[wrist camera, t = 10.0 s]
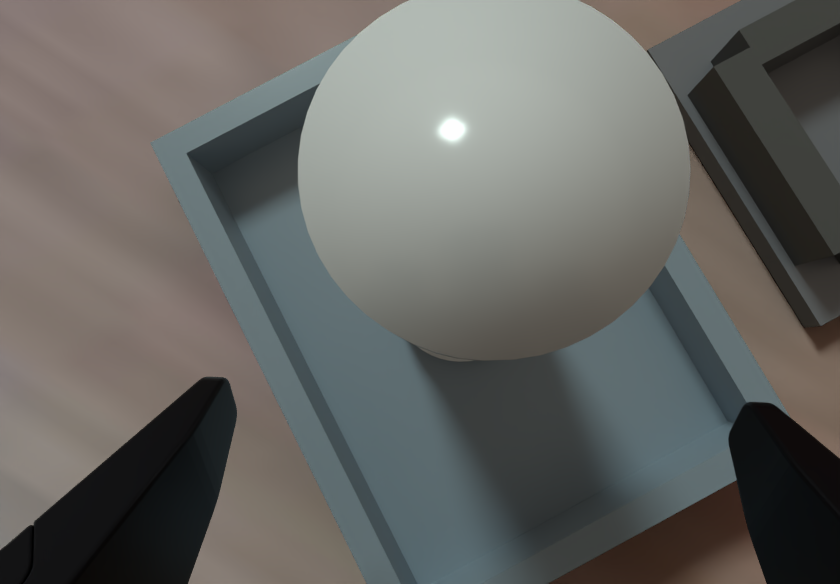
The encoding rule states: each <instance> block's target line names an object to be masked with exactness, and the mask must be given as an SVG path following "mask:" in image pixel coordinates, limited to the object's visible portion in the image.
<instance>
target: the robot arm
mask: <svg viewBox="0 0 840 584" xmlns="http://www.w3.org/2000/svg"><path fill="white" fill-rule="evenodd" d="M236 418H237V408H236V404H235V401H234V397H233V394H232V390H231V387H230V384H229V381H228V380H227V379H226V378H223V377H204V378H202V379H200V380H199V381H198V382H196V383H195V384H194V385H193V386H192V387H191V388H189V389H188V390H187V391H186V392H185V393H184V394H182V395H181V396H180V397H179V398H178V399H177V400H175V401H174V402H173V403H172V404H171V405H170V406H168V407H167V408H166V409H165V410H164V411H163V412H161V413H160V414H159V415H158V416H157V417H156V418H154V419H153V420H152V421H151V422H150V423H149V424H147V425H146V426H145V427H144V428H143V429H142V430H140V431H139V432H138V433H137V434H136V435H135V436H133V437H132V438H131V439H130V440H129V441H128V442H126V443H125V444H124V445H123V446H122V447H121V448H119V449H118V450H117V451H116V452H115V453H114V454H112V455H111V456H110V457H109V458H108V459H107V460H105V461H104V462H103V463H102V464H101V465H100V466H98V467H97V468H96V469H95V470H94V471H93V472H91V473H90V474H89V475H88V476H87V477H86V478H84V479H83V480H82V481H81V482H80V483H79V484H77V485H76V486H75V487H74V488H73V489H72V490H70V491H69V492H68V493H67V494H66V495H65V496H63V497H62V498H61V499H60V500H59V501H58V502H56V503H55V504H54V505H53V506H52V507H51V508H49V509H48V510H47V511H46V512H45V513H44V514H42V515H41V516H40V517H39V518H38V519H37V520H35V522H34V526H33V525H30V526H28V527H27V528H26V529H25V530H23V531H22V532H21V533H20V534H19V535H18V536H16V537H15V538H14V539H13V540H12V541H11V542H9V543H8V544H7V545H6V546H5V547H3V548H2V549H1V550H0V584H188V582H189V579H190V576H191V573H192V571H193V568H194V565H195V562H196V559H197V556H198V554H199V551H200V548H201V545H202V542H203V540H204V537H205V534H206V531H207V528H208V526H209V523H210V520H211V517H212V514H213V512H214V509H215V505H216V502H217V499H218V496H219V492H220V488H221V484H222V479H223V475H224V471H225V467H226V462H227V458H228V454H229V449H230V445H231V441H232V436H233V432H234V428H235V424H236ZM728 442H729V448H730V453H731V457H732V462H733V466H734V471H735V475H736V480H737V484H738V488H739V493H740V497H741V502H742V506H743V511H744V515H745V519H746V523H747V527H748V530H749V533H750V536H751V540H752V543H753V546H754V548H755V551H756V554H757V557H758V560H759V563H760V566H761V569H762V571H763V574H764V577H765V580H766V583H767V584H840V458H838V457H837V456H836V455H835V454H834V453H832V452H831V451H830V450H829V449H828V448H826V447H825V446H824V445H823V444H821V443H820V442H819V441H818V440H817V439H815V438H814V437H813V436H812V435H811V434H809V433H808V432H807V431H806V430H805V429H803V428H802V427H801V426H800V425H799V424H797V423H796V422H795V421H794V420H793V419H791V418H790V417H789V416H788V415H787V414H785V413H784V412H783V411H782V410H781V409H779V408H778V407H777V406H775V405H774V404H772V403H767V402H747V403H745V404H744V405H743V406H742V408H741V410H740V412H739V414H738V416H737V418H736V420H735V422H734V424H733V426H732V428H731V430H730V432H729V438H728Z"/></svg>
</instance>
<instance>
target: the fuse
mask: <svg viewBox="0 0 840 584" xmlns="http://www.w3.org/2000/svg"><path fill="white" fill-rule="evenodd" d="M690 169H691V168H690V156H689V145H688V139H687V135H686V131H685V126H684V122H683V118H682V115H681V113H680V110H679V107H678V105H677V102H676V99H675V97H674V94H673V93H672V91H671V89H670V87H669V85H668V83H667V81H666V79H665V78H664V76H663V74H662V72H661V71H660V70H659V68H658V67H657V65H656V64H655V63H654V61H653V60H652V59H651V57H650V56H649V54H648V53H647V52H646V51H645V50H644V49H643V48H642V47H641V46H640V45H639V44H638V42H637V41H636V40H635V39H634V38H633V37H632V36H631V35H630V34H629V33H627V32H626V31H625V30H624V29H622V28H621V27H620V26H619V25H618V24H616V23H615V22H614V21H613V20H611V19H610V18H608V17H607V16H605V15H604V14H602V13H600V12H599V11H597V10H596V9H594V8H592V7H591V6H589V5H587V4H584V3H582V2H580V1H578V0H409V1H407V2H405V3H403V4H401V5H399V6H397V7H396V8H394V9H392V10H391V11H389V12H387V13H386V14H384V15H382V16H381V17H379V18H378V19H377V20H375V21H374V22H373V23H371V24H370V25H369V26H368V27H366V28H365V29H364V30H362V31H361V32H360V33H359V34H358V35H357V36H356V37H355V38H354V39H353V40H352V41H351V42H350V43H349V44H348V45H347V46H346V47H345V48H344V49H343V51H342V52H341V53H340V54H339V56H338V57H337V58H336V60H335V61H334V62H333V64H332V65H331V66H330V68H329V69H328V71H327V72H326V74H325V76H324V78H323V79H322V81H321V83H320V85H319V86H318V88H317V90H316V92H315V95H314V97H313V99H312V102H311V104H310V107H309V109H308V111H307V115H306V119H305V122H304V126H303V130H302V134H301V139H300V147H299V155H298V187H299V195H300V202H301V209H302V212H303V216H304V219H305V223H306V226H307V230H308V233H309V235H310V238H311V240H312V242H313V245H314V247H315V249H316V252H317V254H318V256H319V258H320V259H321V261H322V263H323V264H324V266H325V267H326V269H327V271H328V272H329V274H330V276H331V277H332V279H333V280H334V281H335V282H336V283H337V285H338V286H339V287H340V288H341V290H342V291H343V292H344V293H345V295H346V296H347V297H348V298H349V299H350V300H351V301H352V302H353V303H354V304H355V305H356V306H357V307H358V308H360V309H361V310H362V311H363V312H364V313H365V314H366V315H367V316H369V317H370V318H371V319H373V320H374V321H376V322H377V323H378V324H380V325H381V326H382V327H384V328H385V329H387V330H388V331H390V332H392V333H393V334H395V335H397V336H399V337H401V338H402V339H404V340H406V341H408V342H410V343H412V344H413V345H415V346H417V347H418V348H420V349H421V350H423V351H424V352H426V353H428V354H430V355H432V356H435V357H437V358H440V359H444V360H448V361H457V362H462V361H473V360H476V361H487V360H514V359H520V358H527V357H533V356H539V355H543V354H546V353H549V352H553V351H556V350H559V349H563V348H566V347H568V346H570V345H573V344H575V343H577V342H579V341H581V340H584V339H586V338H588V337H590V336H592V335H593V334H595V333H596V332H598V331H600V330H601V329H603V328H604V327H606V326H608V325H609V324H611V323H612V322H614V321H615V320H616V319H617V318H618V317H620V316H621V315H622V314H623V313H624V312H626V311H627V310H628V309H629V308H630V307H632V306H633V305H634V304H635V302H636V301H637V300H638V299H639V298H640V297H641V296H642V295H643V294H644V293H645V292H646V290H647V289H648V288H649V287H650V286H651V284H652V283H653V282H654V280H655V279H656V277H657V276H658V274H659V273H660V271H661V270H662V268H663V267H664V266H665V264H666V262H667V260H668V258H669V256H670V254H671V252H672V250H673V248H674V246H675V244H676V242H677V239H678V236H679V233H680V230H681V227H682V224H683V221H684V218H685V213H686V208H687V202H688V197H689V189H690Z"/></svg>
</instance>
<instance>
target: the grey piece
mask: <svg viewBox="0 0 840 584" xmlns="http://www.w3.org/2000/svg"><path fill="white" fill-rule="evenodd" d="M647 53H648V54H649V56H650V57H651V59H652V60H653V61H654V63H655V64H656V65H657V67H658V68H659V70H660V71H661V72H662V74H663V76H664V78H665V79H666V81H667V83H668V85H669V87H670V89H671V91H672V93H673V94H674V97H675V99H676V102H677V105H678V107H679V110H680V113H681V115H682V118H683V122H684V126H685V131H686V135H687V139H688V141H689V143H690V144H691V146H692V148H693V149H694V151H695V152H696V154H697V156H698V157H699V159H700V160H701V162H702V164H703V165H704V167H705V168H706V170H707V172H708V173H709V175H710V177H711V178H712V180H713V181H714V183H715V185H716V186H717V188H718V189H719V191H720V193H721V194H722V196H723V197H724V199H725V201H726V202H727V204H728V205H729V207H730V209H731V210H732V212H733V214H734V215H735V217H736V218H737V220H738V222H739V223H740V225H741V226H742V228H743V230H744V231H745V233H746V234H747V236H748V238H749V239H750V241H751V243H752V244H753V246H754V247H755V249H756V251H757V252H758V254H759V255H760V257H761V259H762V260H763V262H764V263H765V265H766V267H767V268H768V270H769V271H770V273H771V275H772V276H773V278H774V280H775V281H776V283H777V284H778V286H779V288H780V289H781V291H782V292H783V294H784V296H785V297H786V299H787V300H788V302H789V304H790V305H791V307H792V308H793V310H794V312H795V313H796V315H797V317H798V318H799V320H800V321H801V323H802V325H803V326H804V327H815V326H822V325H823V324H825V323H827V322H829V321H831V320H833V319H834V318H836V317H838V316H840V0H741V1H739V2H737V3H735V4H733V5H732V6H730V7H728V8H726V9H724V10H722V11H720V12H718V13H716V14H715V15H713V16H711V17H709V18H707V19H705V20H703V21H701V22H699V23H698V24H696V25H694V26H692V27H690V28H688V29H686V30H684V31H682V32H680V33H679V34H677V35H675V36H673V37H671V38H669V39H667V40H665V41H663V42H662V43H660V44H658V45H656V46H654V47H652V48H650V49H648V50H647Z"/></svg>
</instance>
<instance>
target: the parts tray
mask: <svg viewBox="0 0 840 584" xmlns="http://www.w3.org/2000/svg"><path fill="white" fill-rule="evenodd" d="M356 36H357V35H356ZM356 36H354V37H352V38H350V39H349V40H347V41H345V42H343V43H341V44H339V45H337V46H335V47H333V48H331V49H329V50H327V51H326V52H324V53H322V54H320V55H318V56H316V57H314V58H312V59H310V60H308V61H306V62H304V63H303V64H301V65H299V66H297V67H295V68H293V69H291V70H289V71H287V72H285V73H283V74H281V75H279V76H278V77H276V78H274V79H272V80H270V81H268V82H266V83H264V84H262V85H260V86H258V87H256V88H255V89H253V90H251V91H249V92H247V93H245V94H243V95H241V96H239V97H237V98H235V99H233V100H232V101H230V102H228V103H226V104H224V105H222V106H220V107H218V108H216V109H214V110H212V111H210V112H209V113H207V114H205V115H203V116H201V117H199V118H197V119H195V120H193V121H191V122H189V123H187V124H186V125H184V126H182V127H180V128H178V129H176V130H174V131H172V132H170V133H168V134H166V135H164V136H162V137H161V138H159V139H157V140H155V141H153V142H151V145H152V147H153V149H154V151H155V153H156V155H157V157H158V159H159V161H160V163H161V165H162V168H163V170H164V172H165V174H166V176H167V178H168V180H169V182H170V184H171V186H172V188H173V190H174V192H175V194H176V196H177V198H178V200H179V202H180V204H181V206H182V208H183V210H184V212H185V214H186V216H187V218H188V220H189V223H190V225H191V227H192V229H193V231H194V233H195V235H196V237H197V239H198V241H199V243H200V245H201V247H202V249H203V251H204V253H205V255H206V257H207V259H208V261H209V263H210V265H211V267H212V269H213V271H214V273H215V275H216V278H217V280H218V282H219V284H220V286H221V288H222V290H223V292H224V294H225V296H226V298H227V300H228V302H229V304H230V306H231V308H232V310H233V312H234V314H235V316H236V318H237V320H238V322H239V324H240V326H241V328H242V330H243V333H244V335H245V337H246V339H247V341H248V343H249V345H250V347H251V349H252V351H253V353H254V355H255V357H256V359H257V361H258V363H259V365H260V367H261V369H262V371H263V373H264V375H265V377H266V379H267V381H268V383H269V385H270V387H271V390H272V392H273V394H274V396H275V398H276V400H277V402H278V404H279V406H280V408H281V410H282V412H283V414H284V416H285V418H286V420H287V422H288V424H289V426H290V428H291V430H292V432H293V434H294V436H295V438H296V440H297V442H298V445H299V447H300V449H301V451H302V453H303V455H304V457H305V459H306V461H307V463H308V465H309V467H310V469H311V471H312V473H313V475H314V477H315V479H316V481H317V483H318V485H319V487H320V489H321V491H322V493H323V495H324V497H325V500H326V502H327V504H328V506H329V508H330V510H331V512H332V514H333V516H334V518H335V520H336V522H337V524H338V526H339V528H340V530H341V532H342V534H343V536H344V538H345V540H346V542H347V544H348V546H349V548H350V550H351V552H352V555H353V557H354V559H355V561H356V563H357V565H358V567H359V569H360V571H361V573H362V575H363V577H364V579H365V581H366V583H367V584H548V583H550V582H552V581H554V580H555V579H557V578H559V577H561V576H563V575H564V574H566V573H568V572H570V571H572V570H574V569H575V568H577V567H579V566H581V565H583V564H585V563H586V562H588V561H590V560H592V559H594V558H595V557H597V556H599V555H601V554H603V553H605V552H606V551H608V550H610V549H612V548H614V547H616V546H617V545H619V544H621V543H623V542H625V541H626V540H628V539H630V538H632V537H634V536H636V535H637V534H639V533H641V532H643V531H645V530H646V529H648V528H650V527H652V526H654V525H656V524H657V523H659V522H661V521H663V520H665V519H667V518H668V517H670V516H672V515H674V514H676V513H677V512H679V511H681V510H683V509H685V508H687V507H688V506H690V505H692V504H694V503H696V502H698V501H699V500H701V499H703V498H705V497H707V496H708V495H710V494H712V493H714V492H716V491H718V490H719V489H721V488H723V487H725V486H727V485H729V484H730V483H732V482H734V481H736V475H735V471H734V466H733V462H732V457H731V453H730V448H729V442H728V438H729V432H730V430H731V428H732V426H733V424H734V422H735V420H736V418H737V416H738V414H739V412H740V410H741V408H742V406H743V405H744V404H745V403H747V402H767V403H772V404H774V405H775V406H777V407H778V408H779V409H781V410H782V411H783V412H784V413H785V414H787V415H788V413H787V411H786V410H785V408H784V406H783V405H782V403H781V401H780V400H779V398H778V396H777V395H776V393H775V391H774V390H773V388H772V386H771V385H770V383H769V381H768V380H767V378H766V377H765V375H764V373H763V372H762V370H761V368H760V367H759V365H758V363H757V362H756V360H755V358H754V357H753V355H752V353H751V352H750V350H749V348H748V347H747V345H746V343H745V342H744V340H743V339H742V337H741V335H740V334H739V332H738V330H737V329H736V327H735V325H734V324H733V322H732V320H731V319H730V317H729V315H728V314H727V312H726V310H725V309H724V307H723V305H722V304H721V302H720V301H719V299H718V297H717V296H716V294H715V292H714V291H713V289H712V287H711V286H710V284H709V282H708V281H707V279H706V277H705V276H704V274H703V272H702V271H701V269H700V268H699V266H698V264H697V263H696V261H695V259H694V258H693V256H692V254H691V253H690V251H689V249H688V248H687V246H686V244H685V243H684V241H683V239H682V238H681V236H680V234H679V236H678V239H677V242H676V244H675V246H674V248H673V250H672V252H671V254H670V256H669V258H668V260H667V262H666V264H665V266H664V267H663V268H662V270H661V271H660V273H659V274H658V276H657V277H656V279H655V280H654V282H653V283H652V284H651V286H650V287H649V288H648V289H647V290H646V292H645V293H644V294H643V295H642V296H641V297H640V298H639V299H638V300H637V301H636V302H635V304H634V305H633V306H632V307H630V308H629V309H628V310H627V311H626V312H624V313H623V314H622V315H621V316H620V317H618V318H617V319H616V320H615V321H614V322H612V323H611V324H609V325H608V326H606V327H604V328H603V329H601V330H600V331H598V332H596V333H595V334H593V335H592V336H590V337H588V338H586V339H584V340H581V341H579V342H577V343H575V344H573V345H570V346H568V347H566V348H563V349H559V350H556V351H553V352H549V353H546V354H543V355H539V356H533V357H527V358H520V359H514V360H487V361H476V360H473V361H462V362H457V361H448V360H444V359H440V358H437V357H435V356H432V355H430V354H428V353H426V352H424V351H423V350H421V349H420V348H418V347H417V346H415V345H413V344H412V343H410V342H408V341H406V340H404V339H402V338H401V337H399V336H397V335H395V334H393V333H392V332H390V331H388V330H387V329H385V328H384V327H382V326H381V325H380V324H378V323H377V322H376V321H374V320H373V319H371V318H370V317H369V316H367V315H366V314H365V313H364V312H363V311H362V310H361V309H360V308H358V307H357V306H356V305H355V304H354V303H353V302H352V301H351V300H350V299H349V298H348V297H347V296H346V295H345V293H344V292H343V291H342V290H341V288H340V287H339V286H338V285H337V283H336V282H335V281H334V280H333V279H332V277H331V276H330V274H329V272H328V271H327V269H326V267H325V266H324V264H323V263H322V261H321V259H320V258H319V256H318V254H317V252H316V249H315V247H314V245H313V242H312V240H311V238H310V235H309V233H308V230H307V226H306V223H305V219H304V216H303V212H302V209H301V202H300V195H299V187H298V155H299V147H300V139H301V134H302V130H303V126H304V122H305V119H306V115H307V111H308V109H309V107H310V104H311V102H312V99H313V97H314V95H315V92H316V90H317V88H318V86H319V85H320V83H321V81H322V79H323V78H324V76H325V74H326V72H327V71H328V69H329V68H330V66H331V65H332V64H333V62H334V61H335V60H336V58H337V57H338V56H339V54H340V53H341V52H342V51H343V49H344V48H345V47H346V46H347V45H348V44H349V43H350V42H351V41H352V40H353V39H354V38H355V37H356ZM788 416H789V415H788ZM789 417H790V416H789Z"/></svg>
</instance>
